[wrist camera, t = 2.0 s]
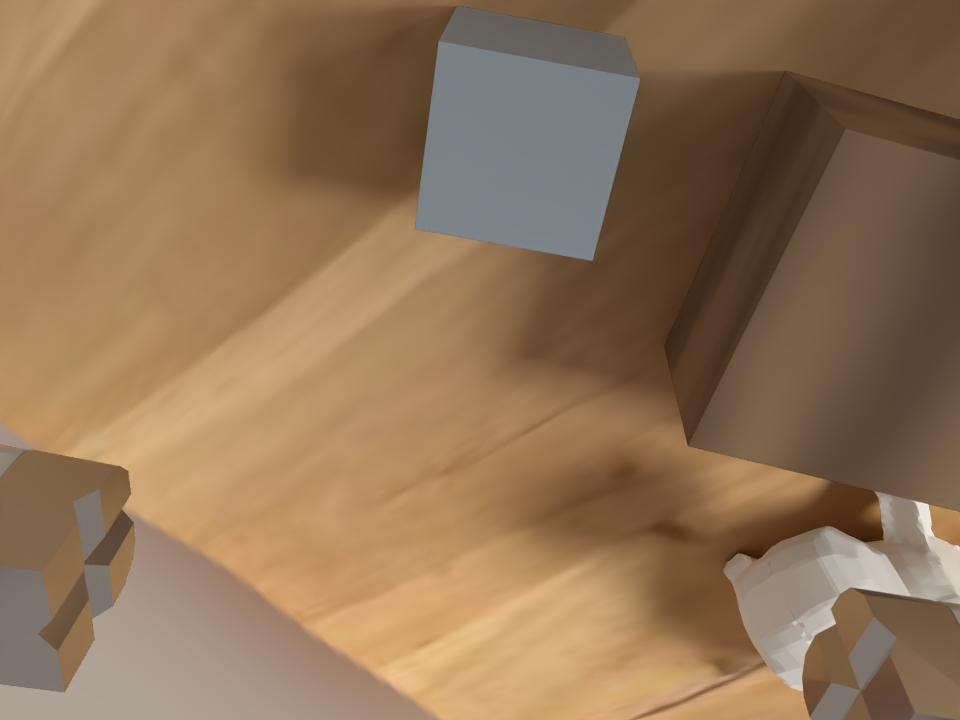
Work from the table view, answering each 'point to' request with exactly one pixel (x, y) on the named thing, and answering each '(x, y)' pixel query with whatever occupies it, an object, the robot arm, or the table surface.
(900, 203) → the walnut block
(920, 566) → the white turtle figurine
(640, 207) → the table surface
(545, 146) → the slate block
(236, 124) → the table surface
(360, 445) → the table surface
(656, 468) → the table surface
